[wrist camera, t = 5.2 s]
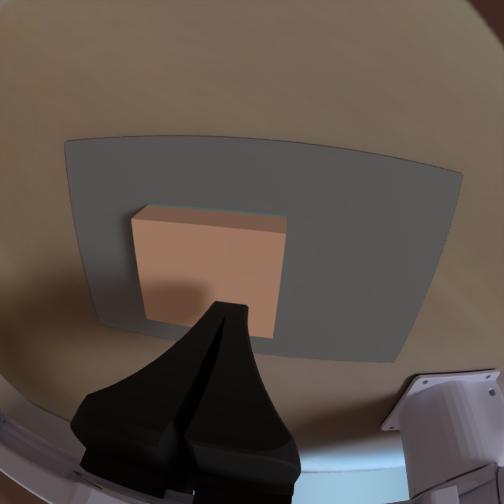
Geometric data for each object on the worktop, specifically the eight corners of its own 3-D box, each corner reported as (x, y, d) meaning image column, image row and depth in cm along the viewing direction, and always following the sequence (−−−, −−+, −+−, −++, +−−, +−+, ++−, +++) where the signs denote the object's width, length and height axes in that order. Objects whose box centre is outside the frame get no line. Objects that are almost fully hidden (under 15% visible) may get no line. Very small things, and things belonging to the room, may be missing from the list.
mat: (460, 172, 12) (463, 174, 12) (393, 359, 19) (394, 362, 18) (67, 140, 14) (64, 141, 14) (102, 321, 20) (100, 324, 20)
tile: (286, 233, 13) (131, 218, 13) (272, 338, 16) (146, 318, 16) (287, 215, 14) (148, 203, 15) (275, 314, 17) (159, 297, 18)
